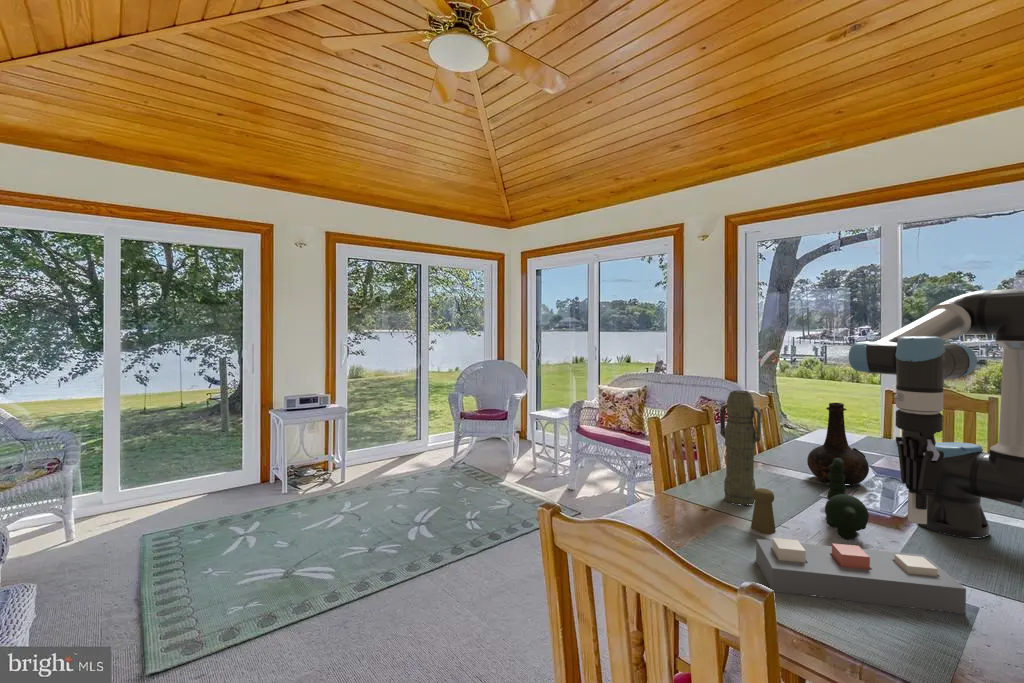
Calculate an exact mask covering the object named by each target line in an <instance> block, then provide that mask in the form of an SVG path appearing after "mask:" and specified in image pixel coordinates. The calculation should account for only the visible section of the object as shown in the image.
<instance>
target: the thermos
mask: <svg viewBox="0 0 1024 683" xmlns="http://www.w3.org/2000/svg"><path fill="white" fill-rule="evenodd" d="M754 405H755V401H754V398H753V395H752V393H751V392H749V391H747V390H732V391H730V392H729V394H728V397H727V400H726V404H724V405H722V406H721V407H720V409H719V414H720V415H719V418H720V422H719V424H720V432H719V433H720V435H721V437H723V439H724V445H725V448H726V454H725V455H726V457H725V458H726V460H725V461H726V462H725V463H726V464H725V466H726V469H725V470H726V471H725V479H724V482H723V485H724V488H723V492H724V500H725V501H726V500H727V501H728V502H727V501H726V502H727V503H729V502H730V503H729V504H731V503H734V504H741V505H747V504H748V505H749V504H753V503H754V502H755V500H754V498H753V491H754V490H755V489H756V481H755V478H754V476H755V475H754V472H755V471H754V470H755V468H754V467H755V466H754V465H755V464H754V462H755V459H754V458H755V450H756V445H757V444H756V442H758V443H759V442H760V441H761V435H762V429H761V428H762V427H761V426H762V425H761V424H762V412H761V410H760V408H759V407H756V406H754ZM754 412H756V415H757V416H756V422H757V423H756V428H755V425H754V423H755V422H754V417H755V416H754V414H755V413H754ZM726 415H727V419H726ZM734 504H733V505H734ZM754 504H755V503H754Z"/></svg>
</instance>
